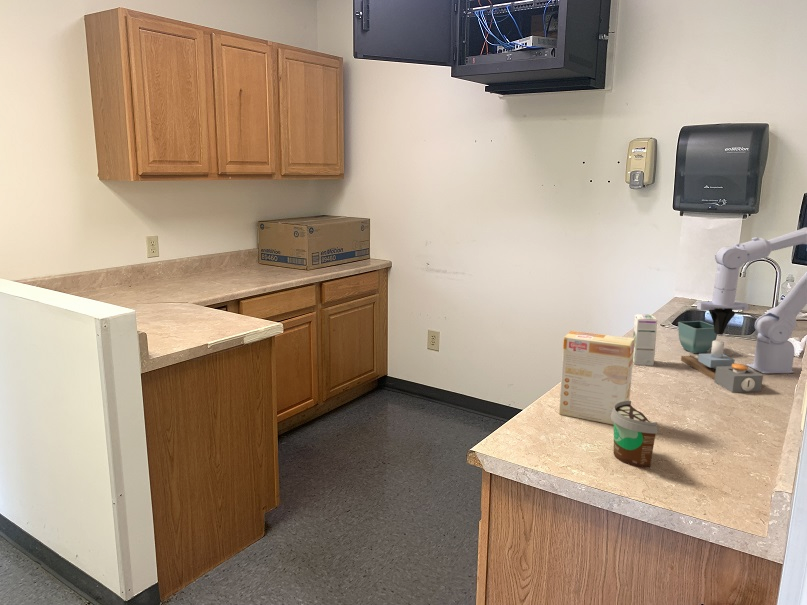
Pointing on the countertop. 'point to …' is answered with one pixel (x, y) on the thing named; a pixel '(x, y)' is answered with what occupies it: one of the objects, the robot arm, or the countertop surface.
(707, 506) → the countertop surface
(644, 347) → the syrup box
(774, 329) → the robot arm
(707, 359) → the carriage
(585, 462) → the countertop surface
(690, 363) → the rail
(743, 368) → the button
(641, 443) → the food container
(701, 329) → the flower pot
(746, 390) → the button box
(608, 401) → the coffeecake box
